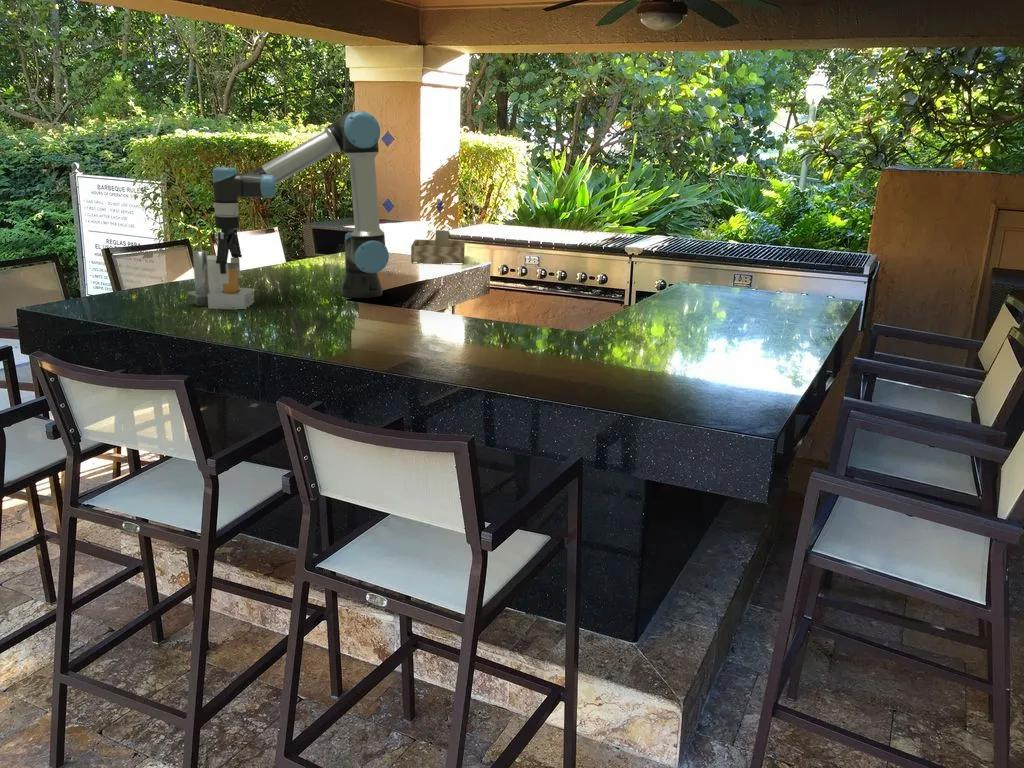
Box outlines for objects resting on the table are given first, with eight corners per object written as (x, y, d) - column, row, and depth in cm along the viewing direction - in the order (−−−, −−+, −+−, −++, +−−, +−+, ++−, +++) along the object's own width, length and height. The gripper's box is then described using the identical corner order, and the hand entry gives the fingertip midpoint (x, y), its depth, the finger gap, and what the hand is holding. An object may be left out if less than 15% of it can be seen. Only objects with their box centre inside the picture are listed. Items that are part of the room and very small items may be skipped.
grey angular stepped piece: (262, 296, 307) (260, 246, 302) (245, 309, 284) (242, 255, 279) (204, 295, 306) (201, 244, 301) (182, 307, 283) (178, 253, 278)
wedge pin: (241, 304, 292) (238, 263, 288) (237, 307, 287) (234, 265, 283) (226, 304, 291) (224, 262, 287) (222, 306, 287) (220, 264, 283)
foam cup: (223, 296, 305) (221, 259, 302) (197, 295, 305) (195, 258, 302) (232, 291, 314) (230, 256, 311) (207, 290, 314) (204, 255, 311)
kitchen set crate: (464, 257, 426) (464, 241, 424) (463, 264, 401) (463, 247, 399) (415, 255, 425) (415, 239, 423) (411, 263, 400) (411, 246, 398)
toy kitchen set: (470, 260, 419) (471, 229, 415) (457, 264, 404) (458, 231, 400) (435, 257, 425) (436, 226, 420) (421, 261, 409) (421, 229, 405)
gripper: (226, 212, 293) (229, 273, 299) (203, 218, 269) (207, 285, 275) (248, 212, 293) (251, 274, 299) (227, 219, 269) (231, 286, 275)
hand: (230, 280), depth 287 cm, fingers open, 13 cm apart
